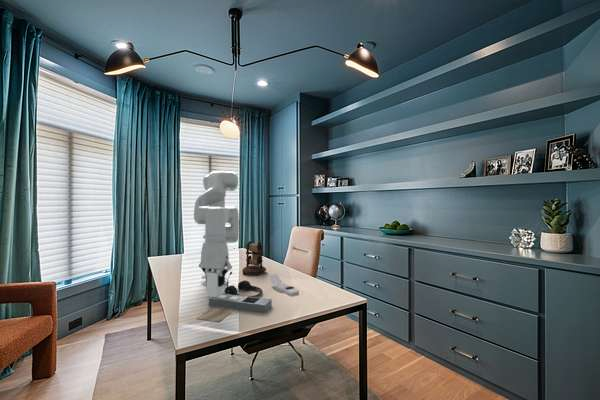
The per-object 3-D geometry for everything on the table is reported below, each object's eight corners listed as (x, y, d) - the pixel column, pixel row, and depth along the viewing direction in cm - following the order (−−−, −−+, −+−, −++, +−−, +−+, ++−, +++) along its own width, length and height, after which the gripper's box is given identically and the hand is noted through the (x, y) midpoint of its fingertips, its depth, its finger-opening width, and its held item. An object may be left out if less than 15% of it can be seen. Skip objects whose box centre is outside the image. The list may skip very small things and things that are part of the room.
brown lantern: (269, 271, 175) (269, 240, 175) (259, 277, 161) (259, 243, 161) (249, 269, 179) (249, 239, 179) (237, 275, 165) (238, 242, 165)
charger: (206, 295, 104) (206, 268, 104) (213, 292, 108) (213, 265, 108) (216, 297, 103) (217, 269, 103) (223, 293, 107) (223, 266, 107)
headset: (238, 268, 141) (269, 279, 131) (236, 286, 141) (267, 298, 132) (218, 275, 129) (251, 286, 119) (217, 294, 130) (249, 307, 120)
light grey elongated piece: (276, 273, 149) (302, 284, 129) (276, 283, 149) (302, 297, 129) (266, 275, 146) (292, 287, 125) (266, 285, 146) (292, 299, 125)
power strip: (208, 307, 115) (208, 297, 115) (217, 301, 122) (218, 292, 122) (265, 315, 108) (265, 304, 108) (271, 308, 115) (271, 298, 115)
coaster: (196, 321, 102) (196, 318, 102) (211, 311, 112) (211, 308, 112) (219, 324, 100) (219, 321, 100) (232, 313, 109) (232, 310, 109)
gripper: (190, 239, 104) (190, 286, 104) (229, 240, 100) (229, 290, 100) (202, 236, 112) (202, 280, 112) (239, 238, 107) (239, 284, 107)
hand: (215, 284), depth 106 cm, fingers closed on charger, 4 cm apart
